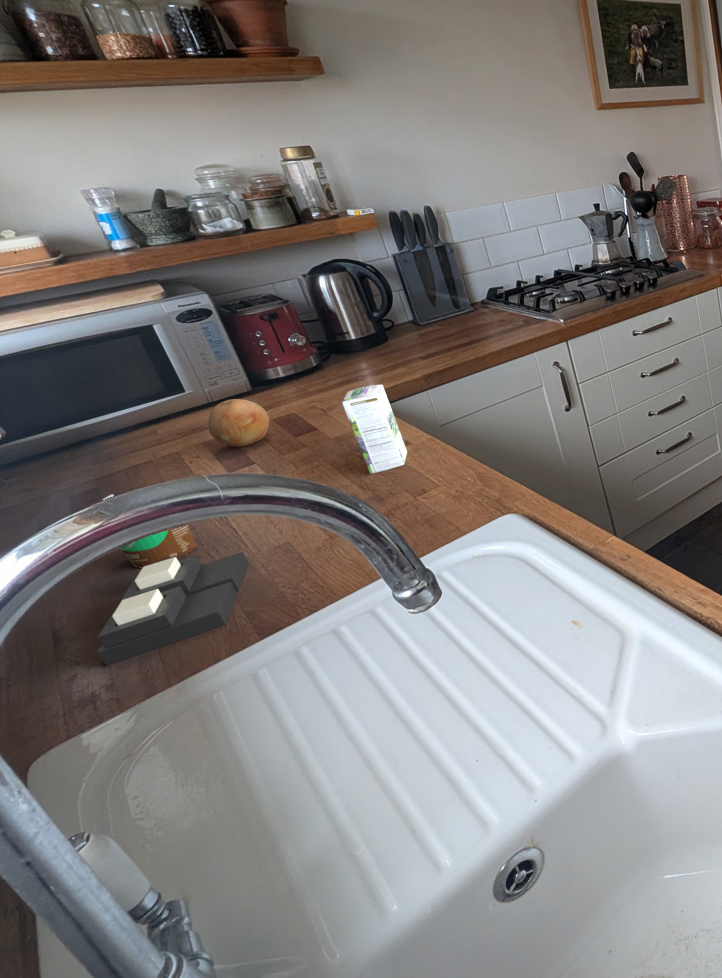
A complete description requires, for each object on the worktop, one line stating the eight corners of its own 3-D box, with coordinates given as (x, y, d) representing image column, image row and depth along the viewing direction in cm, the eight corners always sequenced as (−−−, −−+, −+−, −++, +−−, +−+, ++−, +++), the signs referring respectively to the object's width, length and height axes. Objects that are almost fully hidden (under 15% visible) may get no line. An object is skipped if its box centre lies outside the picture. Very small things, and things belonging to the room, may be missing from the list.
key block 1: (128, 627, 88) (112, 603, 86) (146, 597, 94) (131, 574, 92) (239, 590, 93) (226, 566, 91) (249, 564, 98) (237, 541, 97)
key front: (119, 627, 82) (111, 616, 81) (129, 610, 85) (122, 599, 84) (156, 615, 84) (149, 604, 83) (164, 599, 87) (158, 588, 86)
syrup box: (374, 461, 126) (345, 390, 120) (409, 452, 128) (381, 382, 122) (370, 475, 121) (339, 401, 115) (406, 465, 123) (377, 392, 117)
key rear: (140, 591, 89) (133, 581, 88) (149, 577, 92) (143, 566, 91) (174, 580, 90) (168, 570, 89) (182, 566, 93) (176, 556, 92)
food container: (100, 573, 101) (63, 517, 97) (142, 547, 106) (109, 493, 102) (166, 574, 98) (131, 517, 94) (206, 548, 104) (174, 493, 100)
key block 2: (106, 666, 81) (88, 641, 80) (126, 631, 87) (110, 607, 85) (226, 624, 86) (212, 599, 84) (238, 594, 92) (224, 570, 90)
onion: (288, 430, 145) (268, 387, 141) (256, 452, 136) (233, 407, 132) (244, 435, 145) (223, 393, 141) (209, 458, 136) (185, 413, 132)
